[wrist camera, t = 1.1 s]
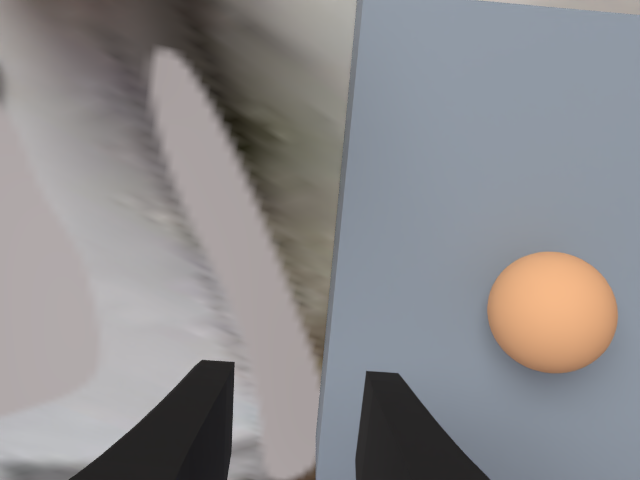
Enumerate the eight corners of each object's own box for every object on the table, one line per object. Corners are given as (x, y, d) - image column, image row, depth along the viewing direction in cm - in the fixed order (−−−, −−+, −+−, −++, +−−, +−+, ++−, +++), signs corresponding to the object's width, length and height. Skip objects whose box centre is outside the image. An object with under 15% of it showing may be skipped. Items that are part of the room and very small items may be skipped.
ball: (569, 339, 18) (624, 402, 15) (465, 331, 18) (498, 394, 15) (594, 239, 17) (660, 284, 14) (483, 231, 17) (524, 275, 14)
